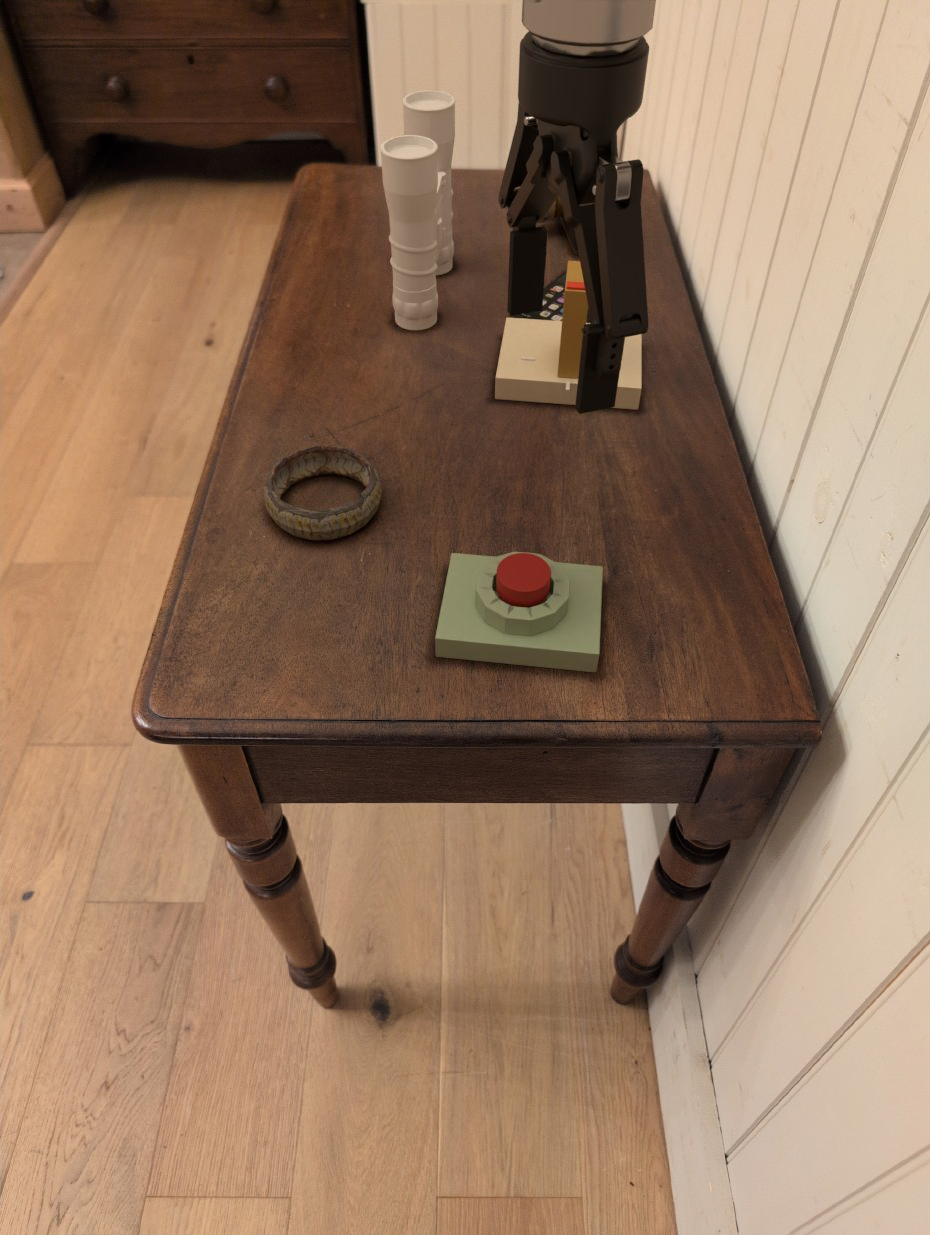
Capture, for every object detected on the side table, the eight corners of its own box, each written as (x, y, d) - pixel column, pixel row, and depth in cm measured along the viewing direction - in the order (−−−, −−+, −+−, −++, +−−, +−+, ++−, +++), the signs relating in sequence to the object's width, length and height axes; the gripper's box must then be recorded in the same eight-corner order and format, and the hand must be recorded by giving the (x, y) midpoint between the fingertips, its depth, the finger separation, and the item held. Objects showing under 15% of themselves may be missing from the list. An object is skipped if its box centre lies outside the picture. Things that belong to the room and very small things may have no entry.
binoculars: (436, 334, 98) (432, 159, 85) (386, 330, 99) (374, 156, 85) (459, 256, 109) (458, 91, 96) (414, 253, 110) (407, 88, 96)
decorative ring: (391, 473, 83) (283, 464, 84) (389, 444, 80) (278, 435, 81) (371, 551, 76) (253, 541, 77) (367, 522, 74) (246, 512, 75)
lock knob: (560, 345, 92) (568, 257, 85) (582, 347, 92) (592, 259, 85) (557, 377, 88) (565, 287, 82) (580, 378, 88) (589, 289, 81)
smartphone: (636, 277, 105) (571, 335, 96) (636, 282, 105) (570, 340, 97) (580, 258, 108) (511, 313, 99) (579, 264, 108) (511, 319, 100)
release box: (599, 585, 74) (605, 549, 71) (596, 673, 68) (602, 638, 65) (451, 571, 75) (451, 535, 72) (435, 657, 69) (434, 621, 66)
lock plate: (638, 347, 96) (641, 324, 94) (638, 418, 88) (642, 395, 86) (505, 338, 98) (506, 315, 96) (493, 407, 89) (493, 384, 87)
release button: (551, 571, 70) (552, 555, 68) (547, 610, 67) (549, 594, 66) (498, 566, 70) (499, 550, 69) (493, 605, 67) (493, 588, 66)
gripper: (455, -20, 60) (457, 284, 76) (618, 122, 44) (577, 467, 60) (561, -30, 62) (541, 269, 78) (754, 103, 46) (680, 444, 62)
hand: (557, 356), depth 69 cm, fingers open, 13 cm apart
